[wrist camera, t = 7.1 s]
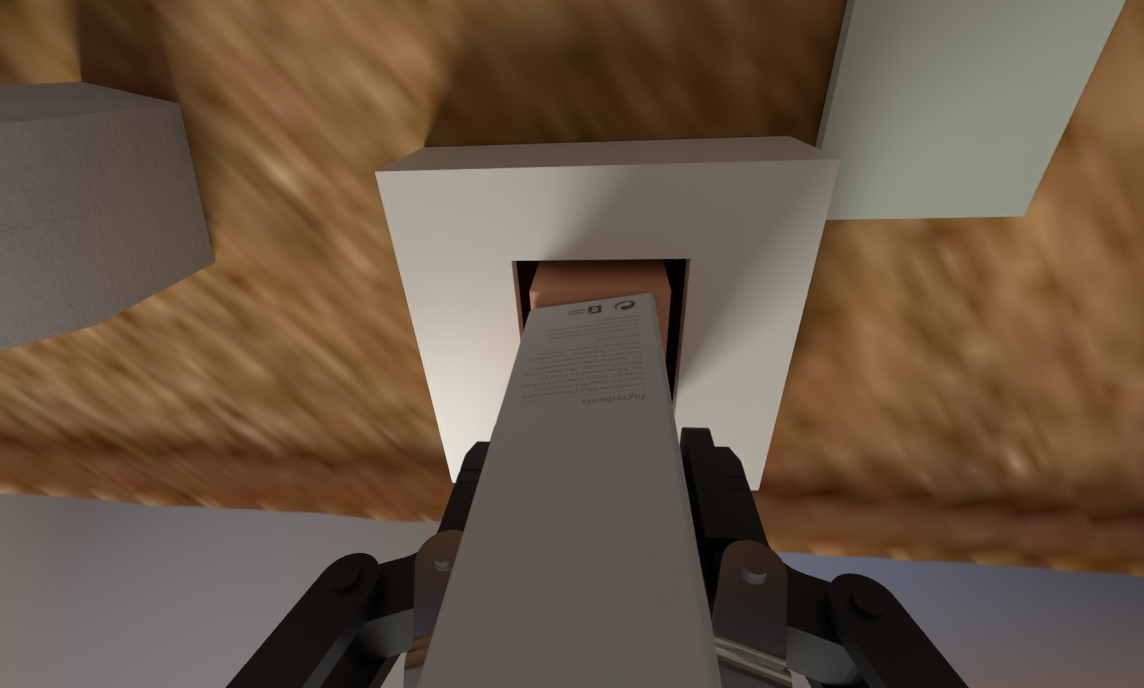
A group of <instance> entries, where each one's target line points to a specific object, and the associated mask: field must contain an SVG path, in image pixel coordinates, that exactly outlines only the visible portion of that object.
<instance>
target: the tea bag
mask: <svg viewBox="0 0 1144 688" xmlns="http://www.w3.org/2000/svg"><path fill="white" fill-rule="evenodd" d="M213 263H215V261H214V257H213V253H212V248H211V244H210V239H209V235H208V230H207V226H206V221H205V217H204V212H203V208H202V203H201V199H200V194H199V190H198V185H197V181H196V176H195V172H194V167H193V163H192V158H191V154H190V149H189V145H188V140H187V136H186V131H185V127H184V122H183V118H182V113H181V109H180V104H178V103H174V102H170V101H165V100H161V99H156V98H152V97H147V96H143V95H139V94H134V93H130V92H125V91H121V90H117V89H112V88H108V87H103V86H99V85H95V84H90V83H86V82H65V83H46V84H27V85H7V86H0V351H1V350H5V349H9V348H12V347H16V346H20V345H23V344H27V343H31V342H35V341H38V340H42V339H46V338H49V337H53V336H57V335H61V334H64V333H68V332H72V331H75V330H79V329H83V328H87V327H90V326H94V325H97V324H99V323H101V322H103V321H105V320H107V319H109V318H111V317H113V316H114V315H116V314H118V313H120V312H122V311H124V310H126V309H128V308H130V307H132V306H133V305H135V304H137V303H139V302H141V301H143V300H145V299H147V298H149V297H150V296H152V295H154V294H156V293H158V292H160V291H162V290H164V289H166V288H167V287H169V286H171V285H173V284H175V283H177V282H179V281H181V280H183V279H185V278H186V277H188V276H190V275H192V274H194V273H196V272H198V271H200V270H202V269H203V268H205V267H207V266H209V265H211V264H213Z"/></svg>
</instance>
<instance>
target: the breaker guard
mask: <svg viewBox="0 0 1144 688" xmlns="http://www.w3.org/2000/svg"><path fill="white" fill-rule="evenodd" d="M840 161H841V159H840V158H837V157H835V156H833V155H831V154H829V153H826V152H824V151H822V150H820V149H818V148H815V147H813V146H811V145H809V144H806V143H804V142H802V141H800V140H798V139H795V138H793V137H791V136H773V137H740V138H708V139H676V140H644V141H611V142H579V143H547V144H515V145H482V146H450V147H423V148H421V149H419V150H417V151H415V152H413V153H411V154H409V155H407V156H405V157H403V158H401V159H399V160H397V161H395V162H393V163H391V164H389V165H387V166H385V167H383V168H381V169H379V170H377V171H375V174H376V178H377V182H378V186H379V190H380V194H381V198H382V202H383V206H384V210H385V214H386V218H387V222H388V226H389V230H390V234H391V238H392V242H393V246H394V250H395V254H396V258H397V262H398V266H399V270H400V274H401V278H402V282H403V286H404V290H405V294H406V298H407V302H408V306H409V310H410V314H411V318H412V322H413V326H414V330H415V334H416V338H417V342H418V346H419V350H420V354H421V358H422V362H423V366H424V370H425V374H426V378H427V382H428V386H429V390H430V395H431V399H432V403H433V407H434V411H435V415H436V419H437V423H438V427H439V431H440V435H441V439H442V443H443V447H444V451H445V455H446V459H447V463H448V467H449V471H450V475H451V479H452V482H456V479H457V476H458V474H459V472H460V468H461V465H462V462H463V459H464V457H465V454H466V453H467V452H468V451H469V450H470V449H471V447H472V446H473V445H474V444H475V443H476V442H477V441H488V442H490V439H491V435H492V432H493V429H494V426H495V424H496V421H497V418H498V414H499V411H500V408H501V405H502V402H503V398H504V395H505V392H506V389H507V385H508V382H509V379H510V375H511V372H512V368H513V365H514V362H515V359H516V355H517V352H518V348H519V345H520V342H521V338H522V334H523V331H524V328H523V319H522V310H521V300H520V291H519V282H518V272H517V263H516V261H532V260H618V259H686V269H685V279H684V290H683V300H682V311H681V321H680V332H679V342H678V353H677V363H676V374H675V384H674V394H673V405H672V406H673V411H674V417H675V423H676V428H677V434H678V440H679V445H680V436H681V429H682V427H698V428H709V429H710V431H711V435H712V439H713V442H714V446H721V447H730V449H731V450H732V451H733V452H734V453H735V454H736V455H737V457H738V458H739V459H740V460H741V462H742V465H743V468H744V472H745V475H746V480H747V481H748V484H749V487H750V490H758V489H759V485H760V481H761V477H762V473H763V469H764V465H765V461H766V457H767V453H768V449H769V445H770V441H771V437H772V433H773V429H774V425H775V421H776V417H777V413H778V409H779V405H780V401H781V397H782V393H783V389H784V385H785V381H786V377H787V373H788V369H789V365H790V361H791V357H792V353H793V349H794V345H795V341H796V337H797V333H798V329H799V325H800V321H801V317H802V313H803V309H804V305H805V301H806V297H807V293H808V289H809V285H810V281H811V277H812V273H813V269H814V265H815V261H816V257H817V253H818V249H819V245H820V241H821V237H822V233H823V229H824V225H825V221H826V217H827V213H828V209H829V205H830V201H831V197H832V193H833V189H834V185H835V181H836V177H837V173H838V169H839V165H840Z"/></svg>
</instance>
